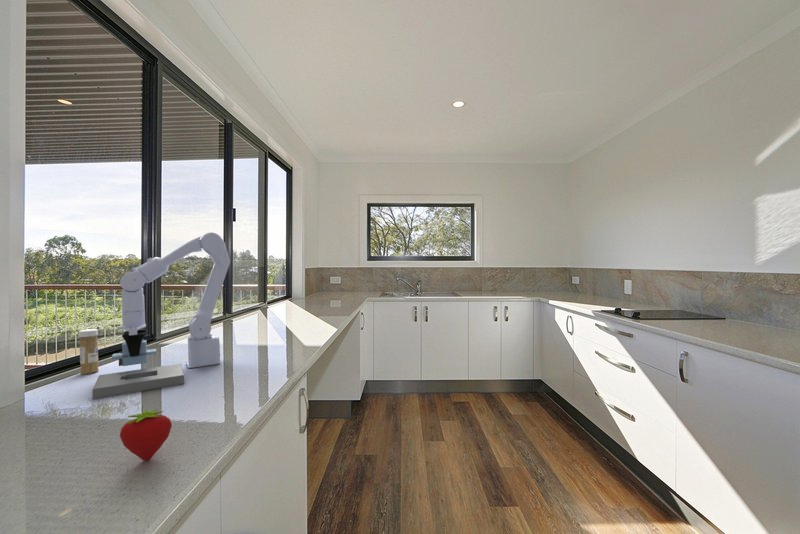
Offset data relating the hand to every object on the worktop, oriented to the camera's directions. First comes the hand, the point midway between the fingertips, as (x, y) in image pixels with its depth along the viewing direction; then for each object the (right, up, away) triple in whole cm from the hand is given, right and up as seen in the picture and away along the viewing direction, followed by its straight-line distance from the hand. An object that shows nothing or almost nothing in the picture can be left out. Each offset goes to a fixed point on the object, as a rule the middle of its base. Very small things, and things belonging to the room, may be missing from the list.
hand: (134, 354), depth 116 cm
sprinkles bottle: (-15, -6, +1) cm, 16 cm away
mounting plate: (+9, -6, -11) cm, 15 cm away
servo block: (0, -3, 0) cm, 3 cm away
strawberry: (+39, -7, -51) cm, 64 cm away
